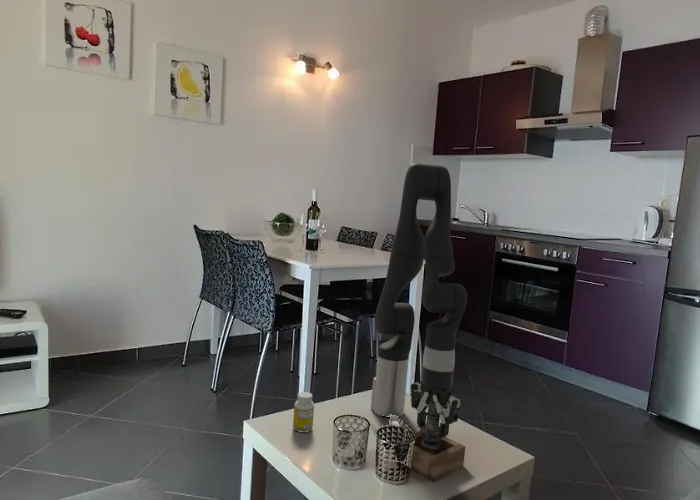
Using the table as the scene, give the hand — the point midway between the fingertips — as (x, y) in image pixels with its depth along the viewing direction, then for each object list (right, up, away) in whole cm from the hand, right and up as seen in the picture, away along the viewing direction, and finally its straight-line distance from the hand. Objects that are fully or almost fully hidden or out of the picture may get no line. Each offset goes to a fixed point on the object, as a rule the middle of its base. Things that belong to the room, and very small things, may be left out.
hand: (432, 431), depth 126 cm
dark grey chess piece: (0, -3, 0) cm, 3 cm away
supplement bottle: (-33, -4, +14) cm, 36 cm away
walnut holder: (-1, -8, +1) cm, 8 cm away
